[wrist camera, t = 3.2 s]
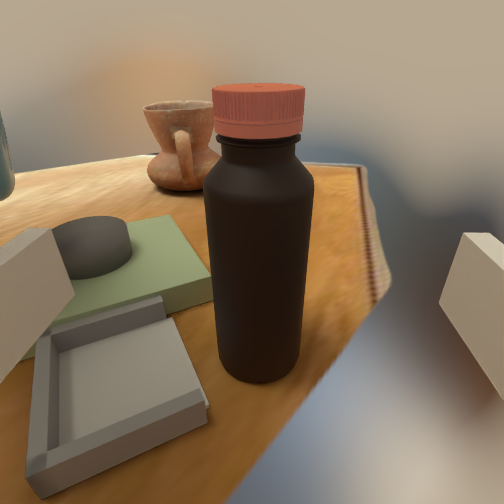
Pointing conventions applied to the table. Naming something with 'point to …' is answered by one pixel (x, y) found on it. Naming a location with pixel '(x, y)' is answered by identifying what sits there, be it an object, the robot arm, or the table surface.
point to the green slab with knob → (114, 351)
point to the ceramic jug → (181, 143)
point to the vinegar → (258, 228)
